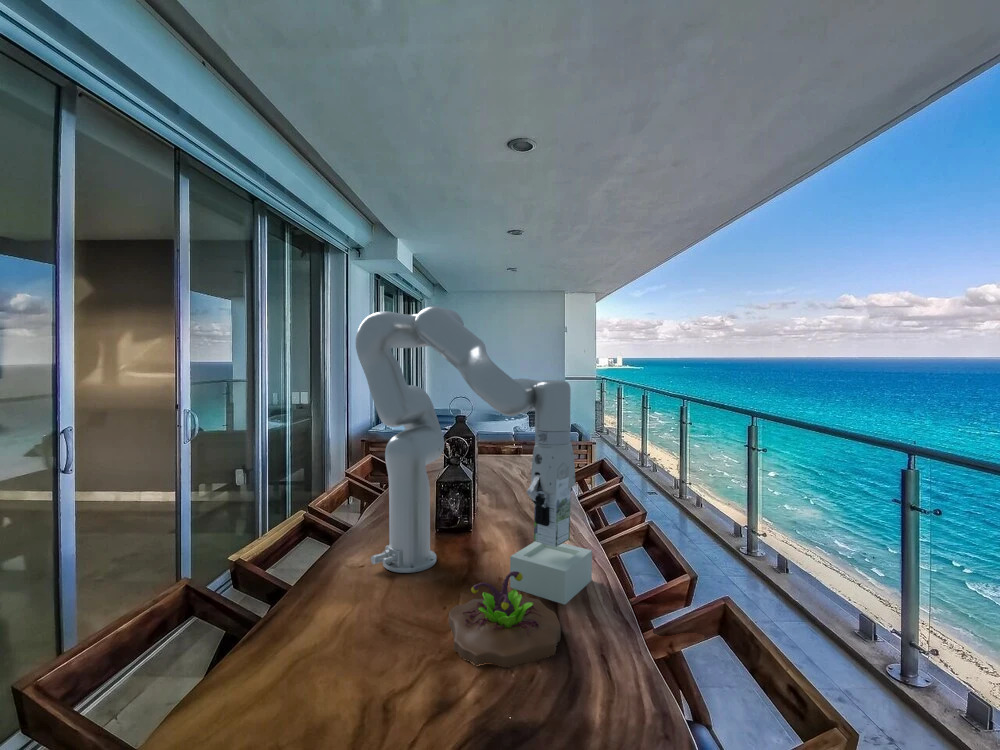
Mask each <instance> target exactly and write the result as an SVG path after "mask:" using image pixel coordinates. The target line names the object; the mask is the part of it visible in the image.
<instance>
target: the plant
mask: <svg viewBox="0 0 1000 750" xmlns="http://www.w3.org/2000/svg"><path fill="white" fill-rule="evenodd" d="M510 576H514V578H515V579H516V580H517V581H521V580H522V579H523V575H522V574H521V573H520V572H516V571H513V572H510V571H509V573H508V574H507V575H506V576H505V578H504V580H503V582H502V586H501V591H499V590H498V589H497V588H496V587H495V586H494V585H492V584H490V583H487V582H486V581H485V582H484V581H483V582H480V583H477V584H474V585H473V586H472V587H471V589H470V591H471V593H472V594H477V593H478V592H479V588H480V586H481V587H482V586H483V587H486V588H488V589H489V591H490V592H491V593H492V594H491V593H488V592H484V591H483V592H482V597H483V598H472V599H470V600H469V601H467V602H466V603H464V604H456V605H455V606H454V607H452V609H450V611H449V613H448V627H449V626H450V628H449V629H451V630H450V631H452V632H453V633H452V632H451V633H452V635H454V636H453V651H454V650H455V651H457V652H458V653H459V654H460V656H461V657H462V658H464V659H466V660H469V661H471V662H473V663H474V664H475V665H479V664H484V663H492V664H497V665H500V666H503V667H508V666H509V667H508V668H511V667H510V666H513V667H515V666H514V665H516V666H518V665H517V664H520V665H522V664H521V663H524V664H527V663H526V662H528V663H531V662H534V661H533V660H535V661H539V660H542V658H544V659H546V657H547V658H549V657H548V656H551V655H553V656H555V655H556V653H555V652H556V651H557V647H556V646H558V644H559V643H560V641H561V623H560V620H559V619H558V616H557V613H556V612H555V611H554V610H552V609H549V608H548V607H547V606H546V605H545V604H544V603H543V602H542V601H541V600H540V599H539V598H534V597H533V598H531V597H526V596H522V595H523V594H519V592H518V590H517V589H512V590H510V591H509V592H508V585H509V582H510ZM558 642H559V643H558ZM557 643H558V644H557ZM554 654H555V655H554ZM460 656H459V657H460ZM551 657H552V656H551ZM462 658H461V659H462ZM538 659H539V660H538ZM530 661H531V662H530ZM500 666H499V667H500ZM503 667H502V668H503Z"/></svg>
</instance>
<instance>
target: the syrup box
mask: <svg viewBox="0 0 1000 750" xmlns="http://www.w3.org/2000/svg"><path fill="white" fill-rule="evenodd" d="M568 481H569V477H567V478H564V479H557V480H556V481H555V494H552V495H549V500H548V504H547V507H549V525H548V526H543V525H540V524H537V523H536V505H534V514H533V515H534V517H533V518H534V519H533V521H534V522H533V523H534V525H533V542H535V541H536V542H539V543H543V544H546V545H550V546H554V547H557V546H558V545H560V544H562V543H563V544H565V543H566V542H567V541H569V540H571V539H570V536H571V534H570V533H571V497H572V496H571V495H572V494H571V492H572V491H571V488H569V489H568ZM540 491H543V490H542V488H540ZM543 497H544V495H543V494H541V498H542V499H543Z"/></svg>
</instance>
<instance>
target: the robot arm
mask: <svg viewBox="0 0 1000 750" xmlns="http://www.w3.org/2000/svg"><path fill="white" fill-rule="evenodd" d="M422 347H431V349H433V350H434V351H435V352H437V353H438V355H440V356H441V357H443V358H444V360H446V361H447V362H449V363H450V365H452V366H453V367H454V368H455V369H456V370H457V371H458V372H459V373H460V376H462V378H463V379H464V381H465V382H466V384H467V385H468V386H469V387H470V389H471V390H472V391H473V393H475V394H476V395H477V396H479V397H480V398H481V399H482V400H483V401H484V402H485V403H487V404H488V405H489V406H490V407H491V408H492V409H494V410H495V411H496V412H498V413H500V414H502V415H504V416H507V417H508V416H509V417H513V416H514V417H515V416H518V415H520V414H524V413H527V412H532V411H534V412H535V413H534V416H535V417H534V418H535V419H534V426H535V427H534V431H535V432H534V443H535V444H534V445H533V446H534V447H533V451H532V461H531V473H530V474H531V477H530V478H531V481H530V482H531V483H530V484H529V485H530V486H529V488H527V490H526V494H527V495H528V496H529V498H530V500H531V501H532V502H533V505H534V506H535V505H536V523H537V524H540V525H543V526H548V525H549V507H547V504H548V500H549V495H552V494H555V481H556V480H557V479H564V478H567V477H569V481H568V489H569V488H571V492H572V491H573V488H574V486H575V484H576V481H577V480H576V470H575V467H576V466H575V465H576V464H575V454H574V448H573V444H572V442H571V396H572V395H571V392H572V390H571V385H570V383H569V382H568V381H566V380H560V379H559V380H558V379H548V380H546V379H545V380H535V379H529V378H512V377H511V376H510V375H509V374H507V373H506V372H504V370H502V369H501V368H500V367H499V366H498V365H497V364H496V363H495V362H493V360H492V359H491V358H490V356H489V355H488V353H487V348H486V345H485V342H483V340H482V339H481V338H479V337H478V336H477V335H476V334H474V332H472V331H470V330H469V328H467V327H465V325H464V320H463V318H462V317H461V316H460V314H458V312H456V311H455V310H453V309H450V308H446V307H441V306H435V305H434V306H426V307H424V308H423V309H421V310H420V311H419V312H418V313H414V314H406V313H405V314H404V313H400V312H399V313H398V312H395V311H394V312H393V311H377V312H374V313H373V312H372V314H369V315H367V316H366V317H365V318H364V319H363V320H362V322H361V323H360V324H359V327H358V329H357V332H356V335H355V349H356V354H357V357H358V360H359V363H360V366H361V367H362V370H363V372H364V375H365V379H366V382H367V384H368V385H367V386H368V388H369V392H370V394H371V397H372V400H373V404H374V406H375V407H374V408H375V410H376V413H377V416H378V418H379V419H380V422H381V423H383V425H385V426H387V427H389V428H396V427H401V426H403V427H404V430H402V431H400V432H398V433H396V434H394V435H393V436H392V437H391V438H390V439H389V440H388V442H387V443H386V444H387V445H386V447H385V452H384V459H385V466H386V471H387V475H388V476H387V477H388V478H387V479H388V499H389V500H388V501H389V504H388V505H389V506H388V507H389V508H388V509H389V515H388V516H389V517H388V519H389V520H388V521H389V523H388V525H389V526H388V527H389V528H388V529H389V531H388V532H389V544H387V545H385V548H384V550H383V551H382V553H376V554H373V555H371V556H370V561H371V564H372V565H376V564H379V563H382V566H383V567H384V568H385V569H386V570H389V572H390V571H391V572H394V573H400V574H404V573H405V574H409V573H417V572H422V571H425V570H428V569H430V568H432V567H433V566H435V564H436V563H437V554H436V553H435V552H434V551H432V549H431V495H430V494H431V488H430V480H429V476H428V472H427V465H430V464H432V463H433V462H436V461H437V460H438V459H439V458H441V456H442V455H443V453H444V450H445V438H444V434H443V431H442V428H441V425H440V422H439V419H438V416H437V413H436V410H435V407H434V403H433V402H432V399H431V397H430V396H429V394H428V393H427V392H426V391H425V390H424V389H423V388H421V387H420V386H417V385H413V384H411V385H410V384H407V381H406V379H405V376H404V374H403V369H402V367H401V365H400V362H399V361H398V360H397V358H396V356H394V354H393V352H392V349H412V348H413V349H414V348H422ZM540 488H542V490H543V491H540ZM541 494H543V495H544V497H543V499H542V498H541Z"/></svg>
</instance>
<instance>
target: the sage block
mask: <svg viewBox="0 0 1000 750" xmlns="http://www.w3.org/2000/svg"><path fill="white" fill-rule="evenodd" d="M509 561H510V563H509V565H510V566H509V569H510V571H509V573H510V572H513V571H516V572H520V573H521V574H522V575H523V579H522V580H521V581H517V580H516V579H515V578H514V576H510V578H509V588H511V589H512V590H514V589H516V590H517V591H520V592H524V593H527V594H531V595H532V596H536V597H538V598H539V597H540V598H542V599H546V600H549V601H552V602H555V603H559V604H561V605H566V604H568V603H569V601H571V600H572V599H573V598H574V597H575V596H576V595H578V594H579V593H580V592H581V590H583V589H584V588H585V587H586V586H587V585H589V583H590V582H592V580H593V579H592V578H593V577H592V576H593V575H592V573H593V572H592V571H593V570H592V569H593V568H592V567H593V566H592V565H593V550H592V549H588V548H583V547H580V546H575V545H571V544H567V543H562V544H560V545H558V546H557V547H554V546H550V545H546V544H543V543H539V542H536V541H533V542H532V543H530V544H528V545H527V546H525V547H523V548H521V549H520V550H519V551H517V552H515V553H513V554H512V555H510V557H509Z"/></svg>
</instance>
